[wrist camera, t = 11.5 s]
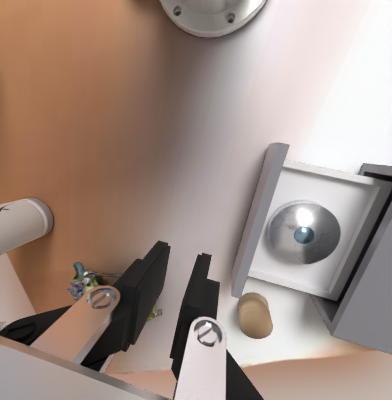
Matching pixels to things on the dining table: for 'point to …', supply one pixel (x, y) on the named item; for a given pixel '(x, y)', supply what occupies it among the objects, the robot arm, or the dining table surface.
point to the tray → (319, 193)
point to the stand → (254, 316)
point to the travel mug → (23, 222)
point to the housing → (366, 284)
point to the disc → (303, 232)
